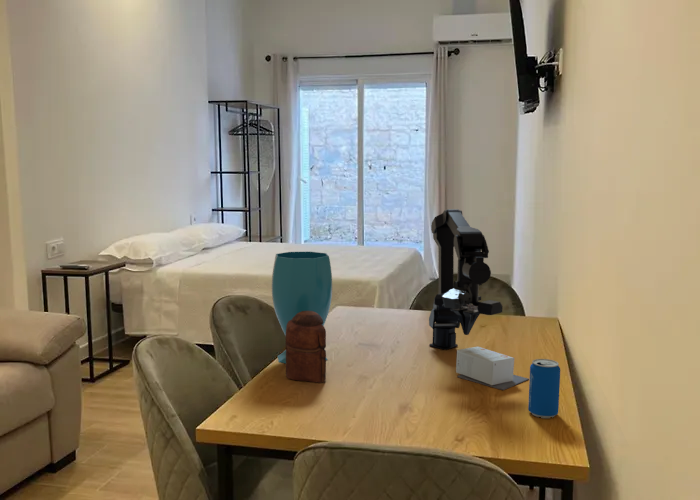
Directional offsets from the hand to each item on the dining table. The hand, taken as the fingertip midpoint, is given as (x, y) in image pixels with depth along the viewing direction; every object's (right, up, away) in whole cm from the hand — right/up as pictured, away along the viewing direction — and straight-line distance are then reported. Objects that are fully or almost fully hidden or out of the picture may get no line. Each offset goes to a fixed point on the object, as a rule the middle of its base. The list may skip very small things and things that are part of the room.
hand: (466, 334), depth 177 cm
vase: (-45, -9, +12) cm, 48 cm away
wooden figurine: (-43, -11, -6) cm, 45 cm away
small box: (0, -7, 0) cm, 7 cm away
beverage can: (+12, -14, -30) cm, 35 cm away
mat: (+6, -11, -5) cm, 13 cm away
